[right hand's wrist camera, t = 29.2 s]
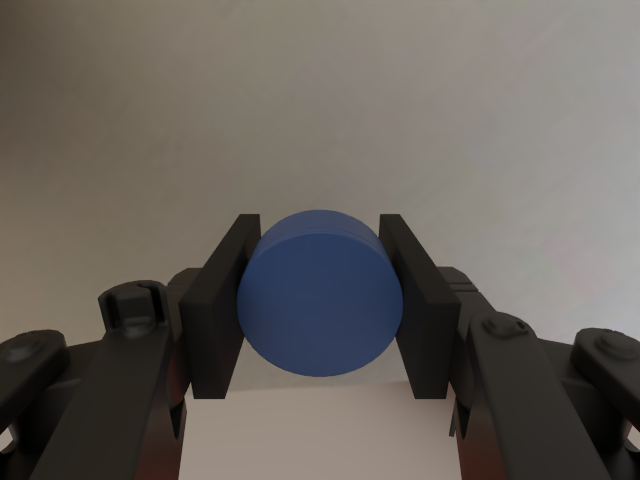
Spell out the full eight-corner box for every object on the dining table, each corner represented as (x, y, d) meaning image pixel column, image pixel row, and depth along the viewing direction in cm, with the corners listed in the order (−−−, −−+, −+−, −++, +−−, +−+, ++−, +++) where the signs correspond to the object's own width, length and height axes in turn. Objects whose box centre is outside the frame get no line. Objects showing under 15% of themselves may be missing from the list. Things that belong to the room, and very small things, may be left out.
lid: (413, 236, 11) (432, 263, 10) (359, 350, 13) (366, 393, 11) (271, 189, 11) (261, 207, 9) (234, 314, 12) (218, 353, 11)
